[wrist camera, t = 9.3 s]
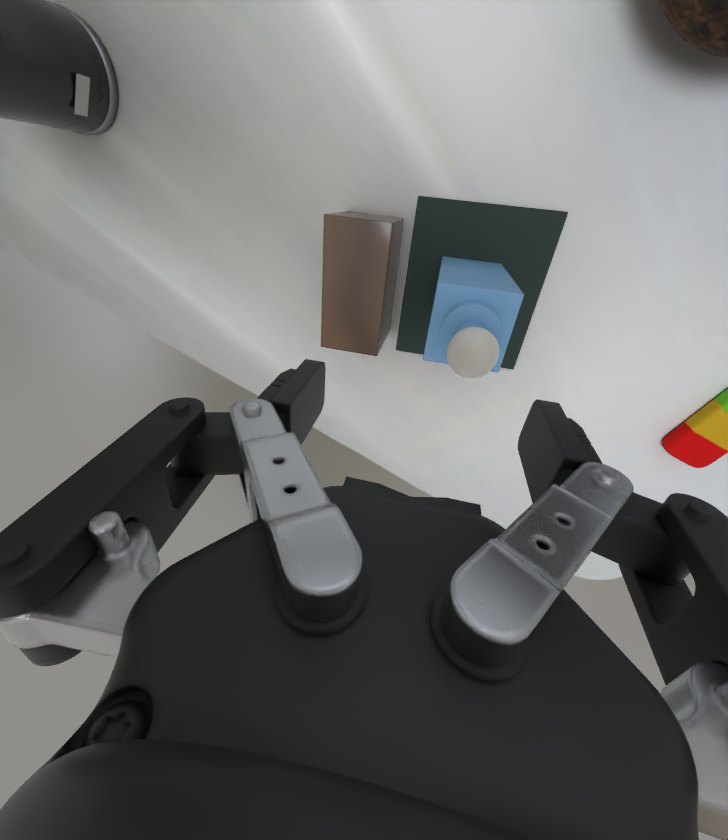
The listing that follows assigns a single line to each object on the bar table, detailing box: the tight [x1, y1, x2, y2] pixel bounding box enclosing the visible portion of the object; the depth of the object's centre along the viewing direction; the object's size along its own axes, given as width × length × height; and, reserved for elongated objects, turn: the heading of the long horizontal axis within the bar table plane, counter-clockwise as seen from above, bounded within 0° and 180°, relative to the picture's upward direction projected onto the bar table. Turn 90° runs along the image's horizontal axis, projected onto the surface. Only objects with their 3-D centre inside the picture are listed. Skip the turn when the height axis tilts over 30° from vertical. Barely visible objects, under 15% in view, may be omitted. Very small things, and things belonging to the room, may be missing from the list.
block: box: [321, 212, 404, 356], centre depth 36 cm, size 6×12×8 cm, turn 175°
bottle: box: [423, 256, 524, 378], centre depth 30 cm, size 14×6×19 cm, turn 85°
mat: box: [396, 196, 568, 369], centre depth 38 cm, size 14×16×1 cm
